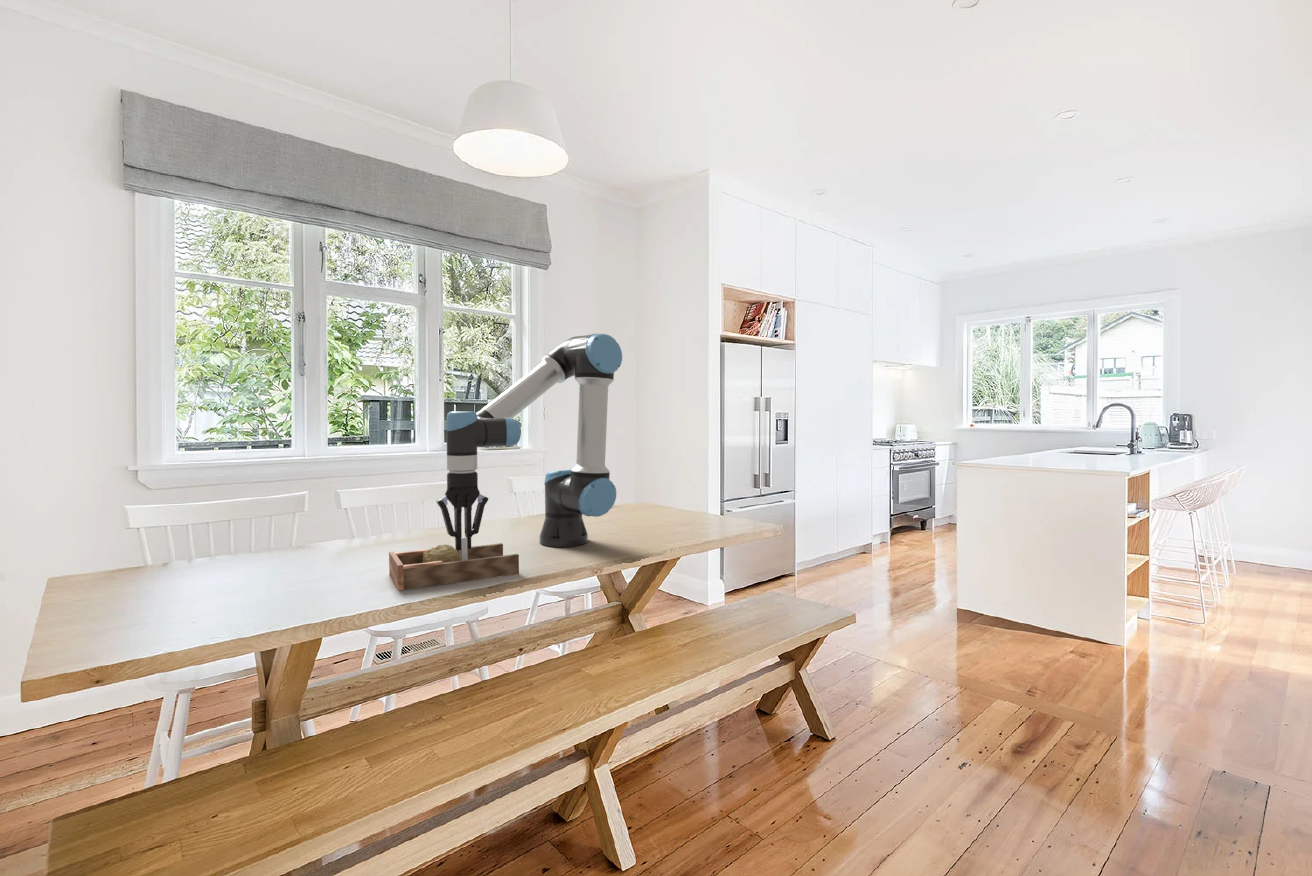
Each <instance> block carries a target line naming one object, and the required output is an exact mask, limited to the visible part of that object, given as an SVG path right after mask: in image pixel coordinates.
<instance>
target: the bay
mask: <svg viewBox="0 0 1312 876" xmlns="http://www.w3.org/2000/svg"><path fill="white" fill-rule="evenodd" d="M429 549H430V548H427V549H420V550H419V549H418V550H409V551H401V552H395V551H389V552H388V564H389V565H388V568H389V577H390V579H391V581H392V582H393V584H394V586H395V587H396V589H397V591H399V592H400V591H406V590H412V589H414V590H415V589H419V588H427V587H434V586H441V585H447V584H448V585H450V584H456V583H462V582H470V581H478V580H483V579H484V580H485V579H491V578H499V577H505V576H507V577H508V576H513V575H519V574H520V554H518V553H514V554H505V555H504V544H503V542H501V543H493V544H485V545H484V544H483V545H476V546H473V545H472V546H471V549H467V553H468V560H462V561H454V562H446V563H443V561H434V562H426V563H423V554H424V552H425V551H427V550H429ZM454 549H456V548H455V547H454ZM457 551H458V553H459V550H457Z"/></svg>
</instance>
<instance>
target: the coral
mask: <svg viewBox="0 0 1312 876" xmlns="http://www.w3.org/2000/svg"><path fill="white" fill-rule="evenodd" d="M428 549H429V550H427V551H425V552H424V554H423V563H426V562H434V561H443V563H446V562H454V561H461V559H460V557H459V553H458V551H457V550H456V549H455V546H452V545H450V544H439V545H437V546H435V547H431V548H428Z"/></svg>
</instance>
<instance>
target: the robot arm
mask: <svg viewBox="0 0 1312 876" xmlns="http://www.w3.org/2000/svg"><path fill="white" fill-rule="evenodd" d="M540 361H541V362H540V363H539V364H538V365H537V366H535V367H534V368H533V369H532V370H531V371H529V372H528V373H526V374H525V375H524V376H523V377H521V378H520V379H518V380H517V381H516V382H514V384H513V385H511V386H510V387H508V389H506V390H504V391H503V392H502V393H500V394H499V395H498V396H497V397H496V398H494V399H493V400H492V401H490V402H489V403H488V404H487V405H485V406H484V407H482V408H481V409H480V410H478V411H477V412H475V411H472V410H471V411H469V410H468V411H466V410H465V411H457V410H456V411H449V412H448V413H447V415H446V422H445V435H446V470H447V473H446V491H445V492H444V496H443V497H442V498H438V499H437V500H436V504H437V506H438V507H439V508H440V511H441V514H442V518H443V522H444V525H445V528H446V532H447V535H449V536H450V537H453V538H454V540H455V541H454V542H455V544H454V545H455V546H454V549H455V548H456V550H459V557H460V559H461V561H462V560H468V553H467V549H471V547H472V537H473V536H474V535H477V534H479V530H480V527H481V523H482V518H483V514H484V511H485V505H487V503H488V501H489V498H488V497H487V496H486V495H483V494H481V493H480V489H479V487H478V481H479V480H478V479H479V477H478V472H477V470H478V448H493V447H494V448H495V447H496V448H497V447H499V448H500V447H505V448H507V447H511V446H512V447H513V446H516V445H518V443H520V439H521V436H522V435H521V426H520V423H519V422H518V420H517V419H515V417H516V416H517V415H518V414H519V413H521V412H522V411H524V410H525V409H526V408H527V407H529V405H531V404H532V403H533V402H535V401H536V400H537V399H539V398H540V397H541V396H542V395H544V394H545V393H546V392H547V391H549V390H550V389H551V388H552V387H553V386H555V385H556V384H562V383H564V382H565V381H566V380H568V379H569V378H571V377H574V380H575V381H576V382H577V384H579V392H578V395H579V396H578V414H577V415H578V416H577V417H578V418H577V419H578V420H577V438H576V463H575V465H574V466H573V467H572V468H571V469H563V470H553V471H551V470H550V471H547V472H546V473H545V476H544V515H545V516H544V521H543V524H542V528H541V530H540V533H539V544H540V545H542V546H547V547H553V548H554V547H557V548H563V547H565V548H566V547H577V546H581V545H584V544H587V543H588V539H589V537H588V536H589V535H588V531H587V529H586V526H585V523H584V519H583V515H584V516H586V517H594V518H597V517H602V516H603V515H605V514H608V512H609V511H610V510H611V509H613V507H614V505H615V502H616V499H617V488H616V486H615V485H614V482H612V480H610V478H611V477H610V476H611V475H610V474H611V472H610V470H609V468H608V467H607V466H606V453H607V452H606V451H607V449H606V447H607V422H608V403H609V400H608V399H609V398H608V397H609V386H610V385H611V384H612V383H613V382H614V380H615V379H614V378H615V373H616V371H618V370H619V368H621V365H622V361H623V352H622V348H621V347H620V344H619V342H618V341H616V339H615V338H614V337H613V336H611V335H609V334H606V333H591V334H587V335H579V336H578V335H577V336H571V337H570V338H568V339H566V340H565V341H563V342H561V343H560V344H558V345H557V346H556V347H554V348H553V349H552V350H550V352H548V353H547V354H545V355H544V356H543V357H542V358H541V360H540ZM476 501H477V505H476V509H475V513H474V518H473V522H472V510H473V508H472V507H473V505H474V504H475V502H476ZM448 502H449V503H450V504H451V505H452V507H453V511H454V513H453V514H454V520H453V521H454V526H453V523H452V519H451V516H450V513H449V509H448ZM462 509H464V510H462ZM462 511H463V512H464V514H463V515H464V516H463V517H464V535H462V534H463V533H462V532H463V530H462Z"/></svg>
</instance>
